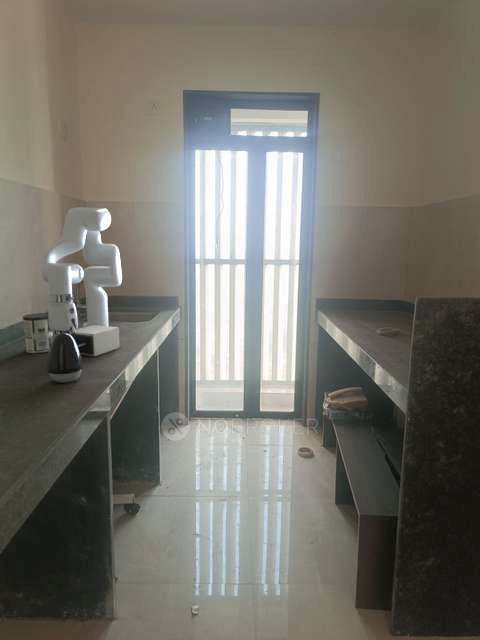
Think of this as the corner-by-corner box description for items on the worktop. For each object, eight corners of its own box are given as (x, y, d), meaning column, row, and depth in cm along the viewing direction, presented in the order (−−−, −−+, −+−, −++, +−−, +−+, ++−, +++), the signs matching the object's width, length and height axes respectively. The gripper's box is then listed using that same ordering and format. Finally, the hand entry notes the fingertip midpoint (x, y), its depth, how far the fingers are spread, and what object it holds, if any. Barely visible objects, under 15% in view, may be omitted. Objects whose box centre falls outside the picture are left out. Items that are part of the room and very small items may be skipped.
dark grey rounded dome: (90, 377, 133) (88, 330, 130) (67, 387, 124) (64, 337, 121) (65, 373, 136) (62, 328, 134) (40, 383, 127) (36, 334, 124)
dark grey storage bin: (79, 358, 151) (78, 340, 150) (56, 354, 156) (55, 337, 155) (114, 346, 169) (113, 330, 168) (92, 343, 173) (91, 328, 172)
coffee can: (41, 345, 173) (39, 312, 170) (59, 348, 169) (57, 314, 166) (19, 351, 164) (16, 316, 161) (38, 354, 159) (35, 318, 157)
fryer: (94, 356, 158) (93, 334, 156) (69, 352, 162) (67, 331, 161) (119, 347, 171) (118, 327, 169) (95, 344, 176) (94, 324, 174)
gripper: (84, 299, 149) (87, 348, 152) (54, 297, 155) (57, 345, 158) (68, 301, 142) (71, 353, 145) (37, 299, 148) (40, 349, 151)
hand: (64, 348), depth 152 cm, fingers closed
